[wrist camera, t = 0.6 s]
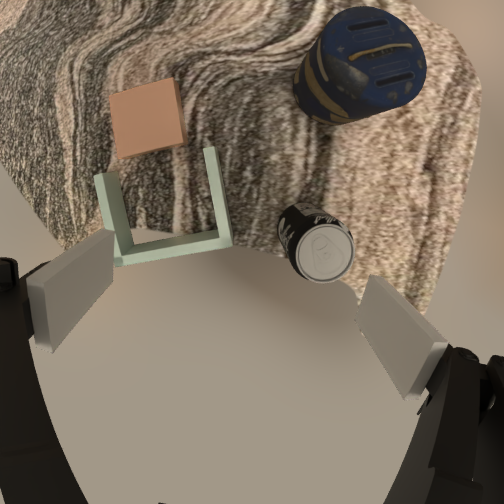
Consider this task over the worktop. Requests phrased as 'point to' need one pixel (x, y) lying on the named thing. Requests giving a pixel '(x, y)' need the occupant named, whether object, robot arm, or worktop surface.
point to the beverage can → (316, 243)
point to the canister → (360, 67)
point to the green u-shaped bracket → (170, 247)
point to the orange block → (148, 119)
